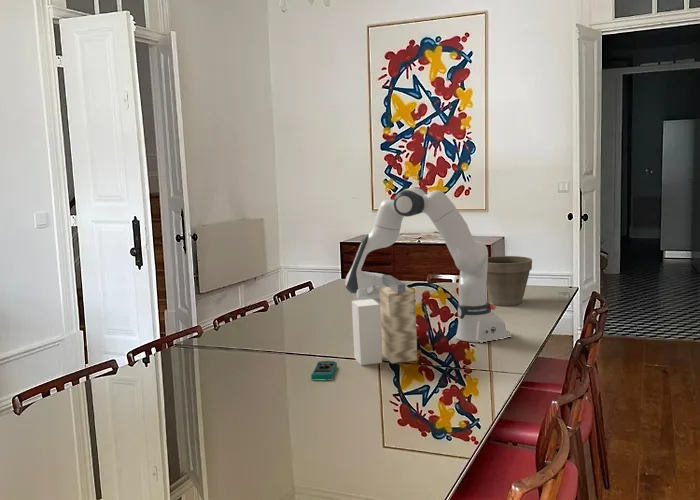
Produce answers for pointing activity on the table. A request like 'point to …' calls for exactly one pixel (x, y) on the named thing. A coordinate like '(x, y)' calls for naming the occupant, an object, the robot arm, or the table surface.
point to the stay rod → (394, 283)
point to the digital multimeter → (324, 370)
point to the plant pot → (507, 279)
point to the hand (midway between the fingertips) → (385, 286)
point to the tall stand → (398, 325)
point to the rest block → (366, 331)
